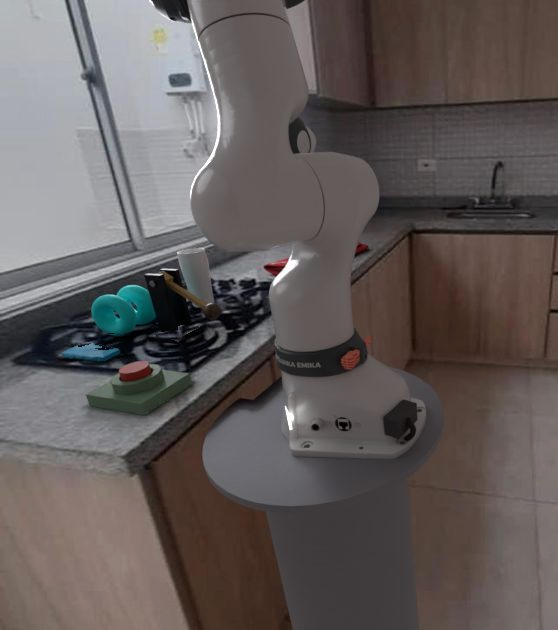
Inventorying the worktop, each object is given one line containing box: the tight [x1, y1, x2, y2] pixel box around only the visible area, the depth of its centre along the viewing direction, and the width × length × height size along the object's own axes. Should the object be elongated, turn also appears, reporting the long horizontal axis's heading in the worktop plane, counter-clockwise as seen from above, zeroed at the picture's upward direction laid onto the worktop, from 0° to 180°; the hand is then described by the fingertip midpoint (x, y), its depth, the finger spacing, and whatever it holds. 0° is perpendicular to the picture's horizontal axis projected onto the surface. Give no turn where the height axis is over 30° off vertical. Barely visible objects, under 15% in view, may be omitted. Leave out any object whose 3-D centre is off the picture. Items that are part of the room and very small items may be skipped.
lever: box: [155, 271, 222, 321], centre depth 95 cm, size 16×4×4 cm, turn 73°
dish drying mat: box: [262, 241, 369, 276], centre depth 159 cm, size 16×41×4 cm, turn 154°
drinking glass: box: [176, 247, 215, 309], centre depth 116 cm, size 7×7×15 cm
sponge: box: [61, 342, 122, 362], centre depth 92 cm, size 2×12×6 cm
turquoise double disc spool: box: [90, 284, 156, 337], centre depth 103 cm, size 10×10×10 cm
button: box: [118, 360, 152, 382], centre depth 74 cm, size 4×4×2 cm
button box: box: [85, 363, 193, 416], centre depth 75 cm, size 12×10×4 cm
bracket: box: [143, 268, 208, 345], centre depth 98 cm, size 8×9×15 cm
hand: (248, 236), depth 99 cm, fingers closed
